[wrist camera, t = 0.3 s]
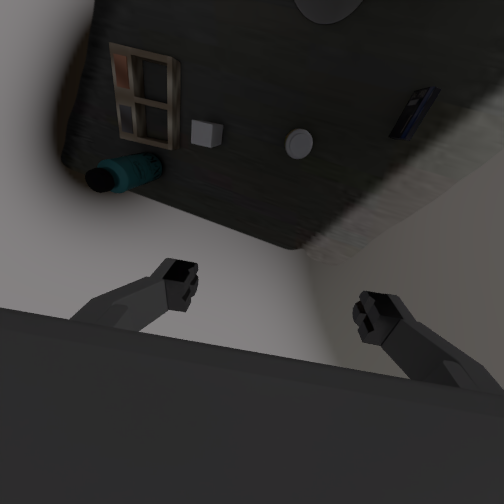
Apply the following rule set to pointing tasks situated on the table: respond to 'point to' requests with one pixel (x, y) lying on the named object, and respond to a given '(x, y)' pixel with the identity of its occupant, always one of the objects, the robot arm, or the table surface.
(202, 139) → the plug
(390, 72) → the table surface
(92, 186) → the beverage bottle
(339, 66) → the table surface
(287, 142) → the supplement bottle
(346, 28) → the table surface
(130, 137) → the socket block
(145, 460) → the robot arm
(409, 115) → the mini dv tape
